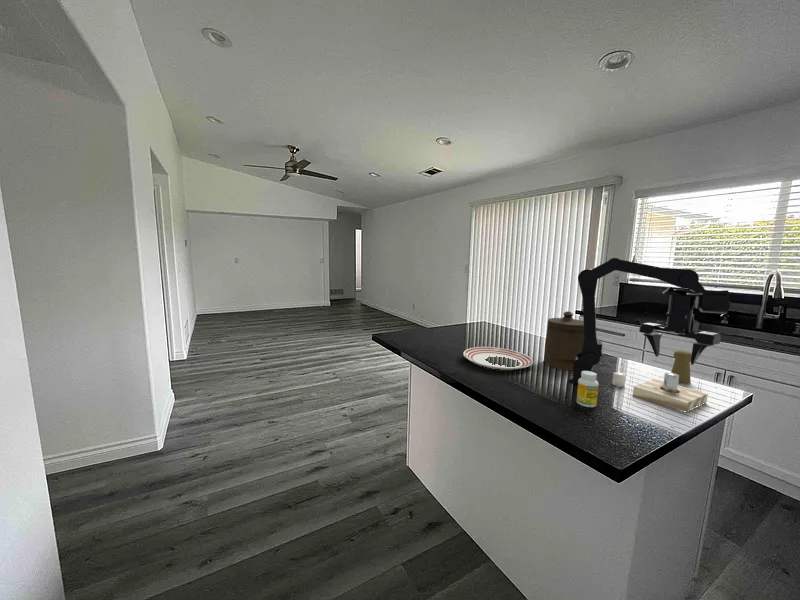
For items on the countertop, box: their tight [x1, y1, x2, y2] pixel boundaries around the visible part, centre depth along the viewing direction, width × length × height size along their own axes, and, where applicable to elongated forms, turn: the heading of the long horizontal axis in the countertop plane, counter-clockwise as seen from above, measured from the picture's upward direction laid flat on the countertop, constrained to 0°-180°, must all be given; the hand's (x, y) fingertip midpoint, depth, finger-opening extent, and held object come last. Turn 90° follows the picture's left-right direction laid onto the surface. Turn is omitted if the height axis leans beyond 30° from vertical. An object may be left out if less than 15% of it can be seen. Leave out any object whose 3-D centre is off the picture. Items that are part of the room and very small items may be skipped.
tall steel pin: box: [663, 372, 679, 393], centre depth 106 cm, size 4×4×8 cm
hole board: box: [632, 378, 709, 412], centre depth 107 cm, size 14×14×3 cm
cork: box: [670, 349, 692, 385], centre depth 123 cm, size 6×6×11 cm
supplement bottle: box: [576, 371, 599, 408], centre depth 101 cm, size 5×5×10 cm
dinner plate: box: [462, 346, 534, 371], centre depth 140 cm, size 27×27×3 cm
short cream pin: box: [611, 371, 626, 388], centre depth 118 cm, size 4×4×4 cm
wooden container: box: [543, 311, 584, 371], centre depth 138 cm, size 15×15×22 cm
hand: (674, 360), depth 105 cm, fingers open, 9 cm apart
